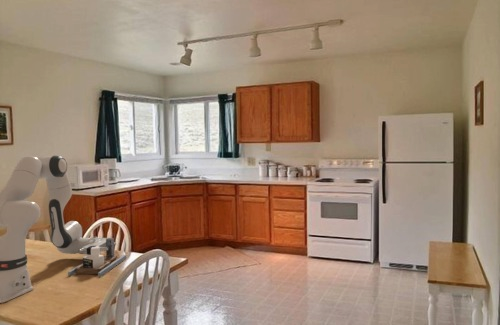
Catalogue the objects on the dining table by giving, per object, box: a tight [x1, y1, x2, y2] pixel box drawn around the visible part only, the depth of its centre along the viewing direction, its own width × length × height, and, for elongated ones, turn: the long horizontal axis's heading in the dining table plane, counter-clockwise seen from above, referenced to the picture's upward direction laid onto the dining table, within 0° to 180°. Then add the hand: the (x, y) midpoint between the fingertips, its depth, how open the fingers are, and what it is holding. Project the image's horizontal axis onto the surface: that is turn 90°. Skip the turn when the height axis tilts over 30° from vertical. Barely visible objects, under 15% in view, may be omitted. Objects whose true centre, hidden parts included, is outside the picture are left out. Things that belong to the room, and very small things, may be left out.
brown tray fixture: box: [74, 237, 118, 275], centre depth 201 cm, size 26×12×11 cm, turn 174°
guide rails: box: [67, 253, 127, 278], centre depth 200 cm, size 29×16×2 cm, turn 174°
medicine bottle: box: [82, 246, 105, 268], centre depth 194 cm, size 7×7×12 cm
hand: (111, 246), depth 212 cm, fingers open, 8 cm apart
